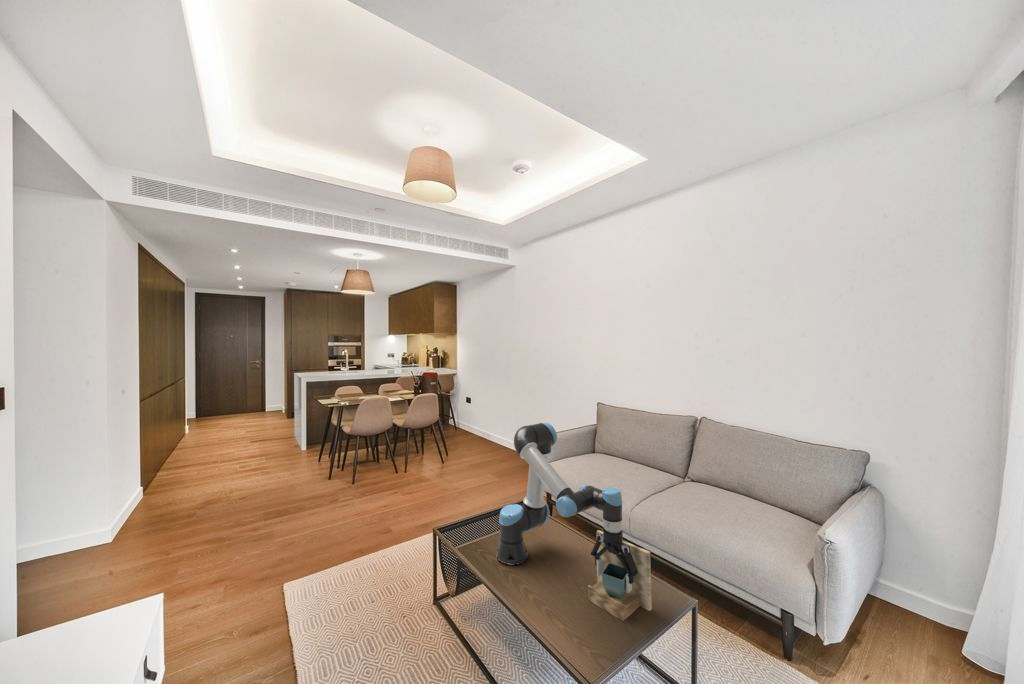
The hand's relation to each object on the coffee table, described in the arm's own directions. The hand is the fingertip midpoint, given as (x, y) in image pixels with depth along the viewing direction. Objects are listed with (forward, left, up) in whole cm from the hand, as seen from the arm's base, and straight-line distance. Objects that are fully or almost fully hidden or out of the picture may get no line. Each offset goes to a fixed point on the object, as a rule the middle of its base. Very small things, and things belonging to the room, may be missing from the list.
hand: (613, 582), depth 147 cm
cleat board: (0, 0, -8) cm, 8 cm away
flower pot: (+1, 0, -4) cm, 4 cm away
